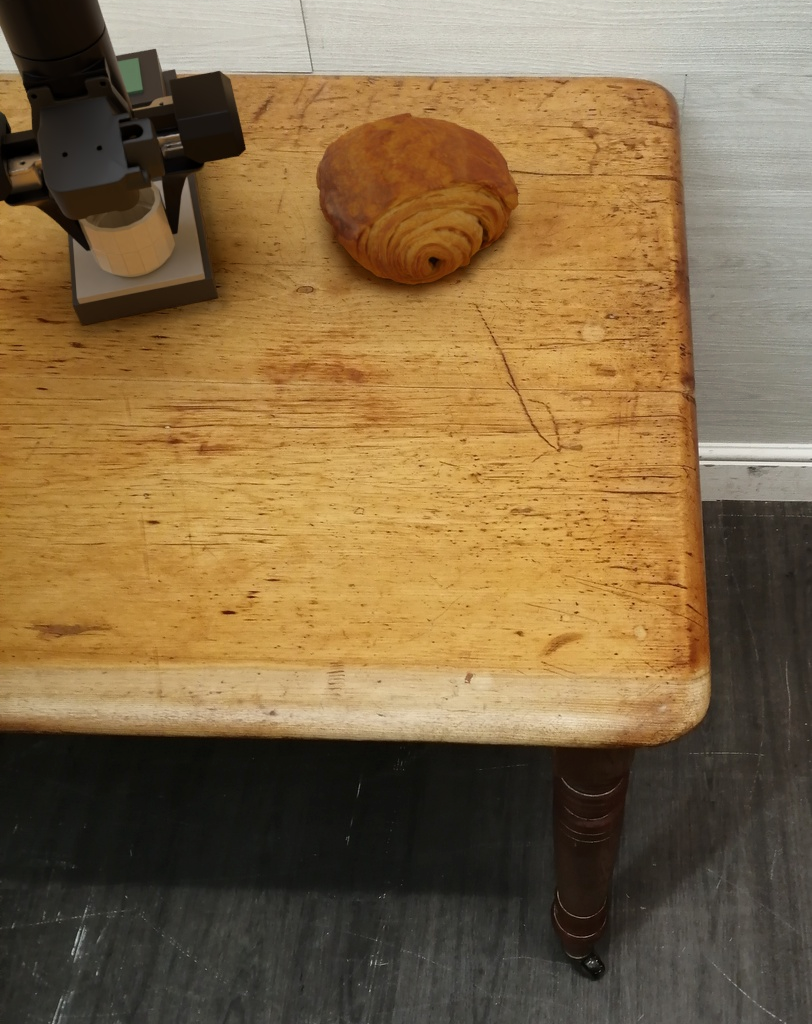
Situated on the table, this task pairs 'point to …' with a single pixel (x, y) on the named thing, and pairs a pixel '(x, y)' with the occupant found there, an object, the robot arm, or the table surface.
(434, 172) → the croissant
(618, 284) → the table surface
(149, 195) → the bowl
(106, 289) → the scale
